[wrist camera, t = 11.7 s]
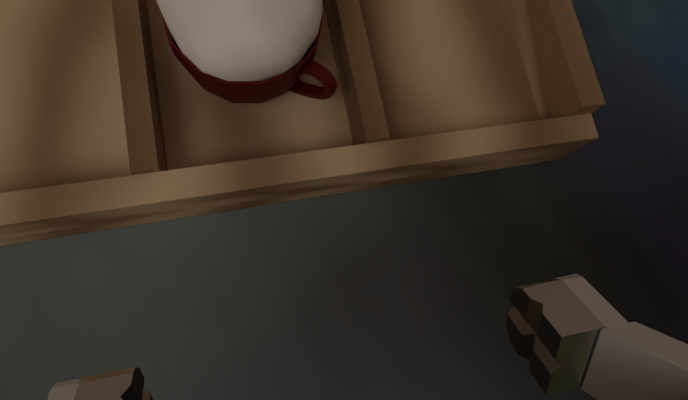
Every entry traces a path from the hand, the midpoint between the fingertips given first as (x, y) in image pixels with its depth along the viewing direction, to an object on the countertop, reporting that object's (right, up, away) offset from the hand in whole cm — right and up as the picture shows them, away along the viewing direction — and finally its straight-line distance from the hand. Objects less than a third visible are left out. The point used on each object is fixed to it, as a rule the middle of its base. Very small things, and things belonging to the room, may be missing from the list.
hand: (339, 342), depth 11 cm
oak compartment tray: (-5, +10, +13) cm, 17 cm away
